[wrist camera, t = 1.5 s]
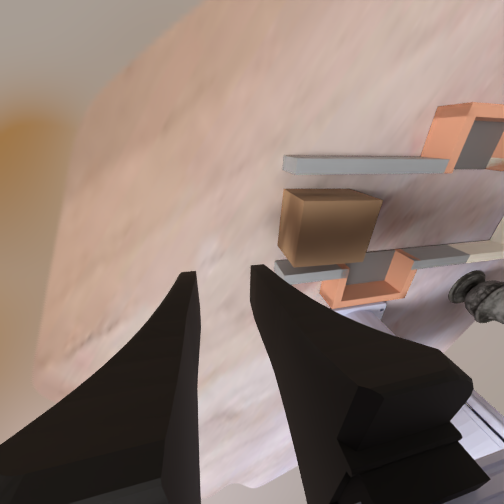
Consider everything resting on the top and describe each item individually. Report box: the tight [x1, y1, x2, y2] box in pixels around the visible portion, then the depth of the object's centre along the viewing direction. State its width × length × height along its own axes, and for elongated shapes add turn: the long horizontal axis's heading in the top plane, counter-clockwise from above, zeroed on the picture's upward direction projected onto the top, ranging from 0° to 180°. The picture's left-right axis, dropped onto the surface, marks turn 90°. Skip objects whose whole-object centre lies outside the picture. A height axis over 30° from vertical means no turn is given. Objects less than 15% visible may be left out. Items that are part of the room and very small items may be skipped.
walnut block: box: [278, 189, 383, 268], centre depth 18 cm, size 5×6×4 cm
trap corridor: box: [274, 102, 504, 309], centre depth 20 cm, size 17×28×2 cm, turn 88°
